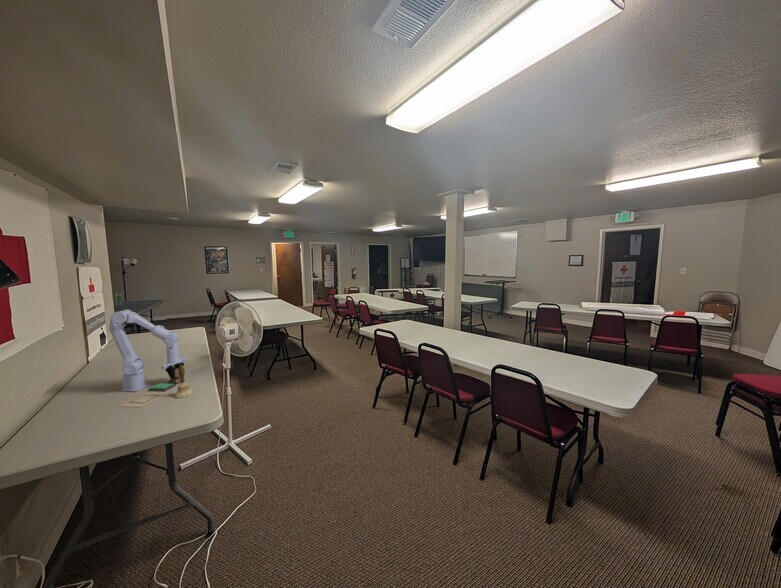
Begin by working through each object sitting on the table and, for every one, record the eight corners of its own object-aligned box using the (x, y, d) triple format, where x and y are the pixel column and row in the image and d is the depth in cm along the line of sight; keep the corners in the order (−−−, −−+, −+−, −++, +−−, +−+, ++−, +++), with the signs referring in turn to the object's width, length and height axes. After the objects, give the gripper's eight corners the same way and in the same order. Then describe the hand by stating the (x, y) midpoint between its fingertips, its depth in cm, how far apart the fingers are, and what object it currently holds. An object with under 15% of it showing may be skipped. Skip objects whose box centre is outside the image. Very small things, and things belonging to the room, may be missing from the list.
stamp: (168, 383, 168) (167, 370, 167) (176, 380, 173) (174, 367, 172) (176, 384, 167) (174, 370, 167) (183, 380, 172) (182, 367, 171)
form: (116, 406, 142) (116, 405, 142) (148, 392, 158) (148, 391, 158) (140, 407, 140) (139, 406, 140) (169, 392, 156) (169, 392, 156)
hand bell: (197, 391, 156) (194, 362, 155) (185, 398, 148) (181, 367, 147) (183, 391, 157) (179, 362, 156) (169, 398, 149) (166, 367, 147)
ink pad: (148, 390, 160) (148, 388, 160) (160, 385, 167) (159, 382, 166) (164, 391, 158) (164, 388, 158) (175, 385, 165) (175, 383, 165)
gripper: (168, 358, 161) (170, 382, 162) (189, 350, 175) (191, 372, 176) (156, 358, 162) (159, 382, 163) (179, 350, 176) (181, 372, 177)
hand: (175, 377), depth 170 cm, fingers closed on stamp, 4 cm apart
